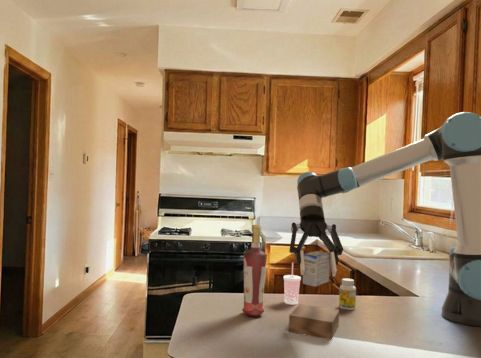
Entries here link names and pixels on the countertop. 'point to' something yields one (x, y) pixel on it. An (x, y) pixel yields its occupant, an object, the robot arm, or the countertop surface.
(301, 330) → the walnut block
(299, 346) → the countertop surface
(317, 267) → the medicine box
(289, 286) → the beverage cup
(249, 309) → the liquor
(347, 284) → the supplement bottle
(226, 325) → the countertop surface
